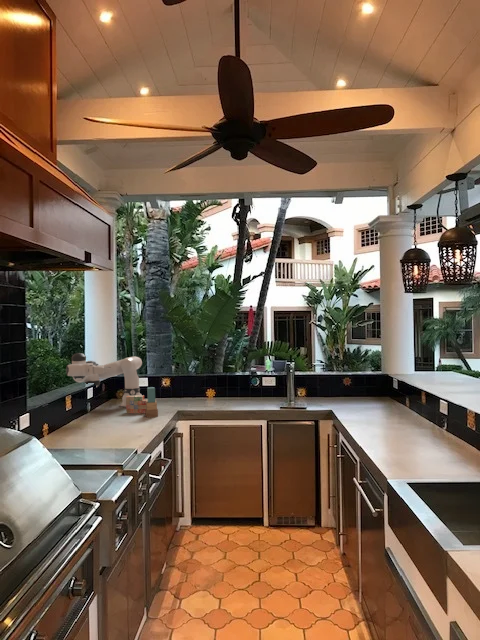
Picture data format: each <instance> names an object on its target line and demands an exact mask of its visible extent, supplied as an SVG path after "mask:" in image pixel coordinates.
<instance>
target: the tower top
mask: <svg viewBox="0 0 480 640" xmlns="http://www.w3.org/2000/svg"><path fill="white" fill-rule="evenodd" d="M146 409H147V410H157V409H158V403H157V400H156V401H155V402H152V403H148V401H146Z"/></svg>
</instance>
